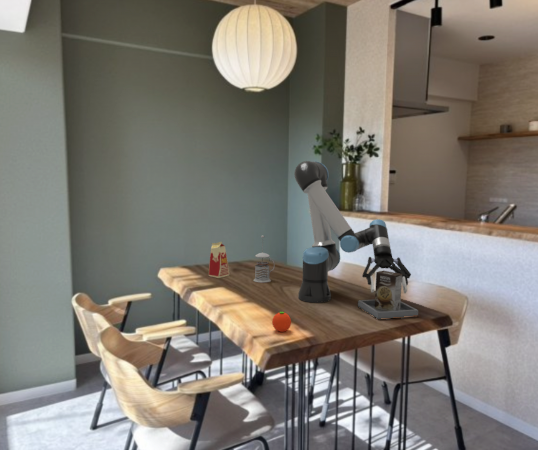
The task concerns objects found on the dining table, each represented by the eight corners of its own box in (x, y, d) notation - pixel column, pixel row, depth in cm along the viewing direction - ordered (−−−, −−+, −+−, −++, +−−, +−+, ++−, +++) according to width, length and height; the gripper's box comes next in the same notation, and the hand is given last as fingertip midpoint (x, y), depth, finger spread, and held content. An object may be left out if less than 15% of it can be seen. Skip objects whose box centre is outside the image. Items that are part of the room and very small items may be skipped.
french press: (253, 278, 242) (254, 233, 240) (274, 278, 242) (275, 234, 240) (252, 282, 233) (253, 236, 230) (274, 282, 232) (274, 236, 230)
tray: (377, 320, 172) (378, 312, 172) (357, 307, 189) (358, 300, 189) (417, 317, 176) (418, 310, 176) (394, 304, 194) (395, 298, 193)
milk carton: (229, 275, 249) (229, 240, 247) (219, 278, 241) (219, 242, 239) (217, 273, 254) (217, 239, 251) (206, 276, 246) (206, 241, 244)
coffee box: (373, 309, 184) (375, 272, 182) (381, 306, 188) (382, 269, 187) (393, 314, 177) (395, 275, 176) (400, 310, 182) (402, 273, 181)
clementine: (271, 327, 162) (271, 308, 161) (289, 326, 162) (290, 308, 162) (272, 334, 154) (272, 315, 153) (292, 334, 154) (292, 315, 154)
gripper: (408, 255, 196) (417, 296, 182) (352, 254, 196) (357, 295, 183) (412, 245, 190) (421, 287, 176) (355, 244, 190) (360, 285, 177)
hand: (389, 291), depth 180 cm, fingers open, 13 cm apart
